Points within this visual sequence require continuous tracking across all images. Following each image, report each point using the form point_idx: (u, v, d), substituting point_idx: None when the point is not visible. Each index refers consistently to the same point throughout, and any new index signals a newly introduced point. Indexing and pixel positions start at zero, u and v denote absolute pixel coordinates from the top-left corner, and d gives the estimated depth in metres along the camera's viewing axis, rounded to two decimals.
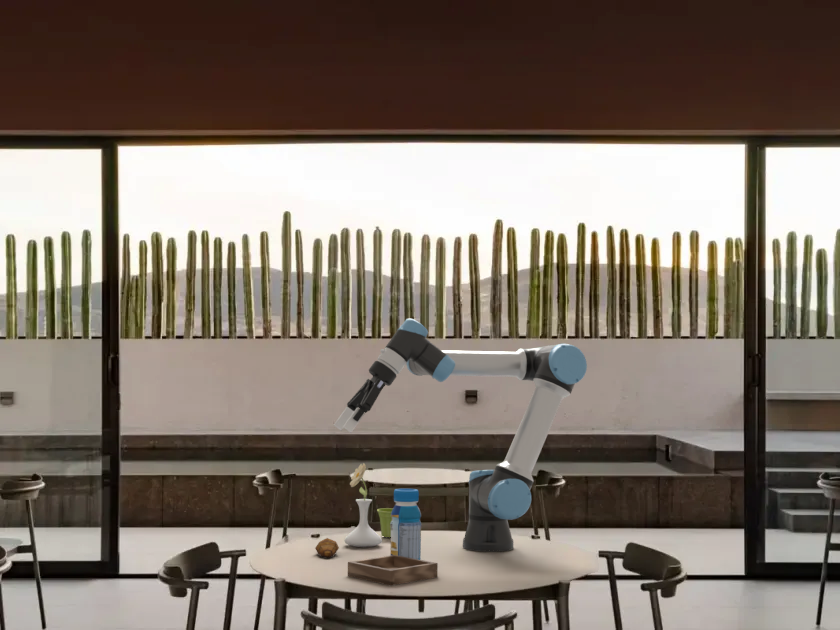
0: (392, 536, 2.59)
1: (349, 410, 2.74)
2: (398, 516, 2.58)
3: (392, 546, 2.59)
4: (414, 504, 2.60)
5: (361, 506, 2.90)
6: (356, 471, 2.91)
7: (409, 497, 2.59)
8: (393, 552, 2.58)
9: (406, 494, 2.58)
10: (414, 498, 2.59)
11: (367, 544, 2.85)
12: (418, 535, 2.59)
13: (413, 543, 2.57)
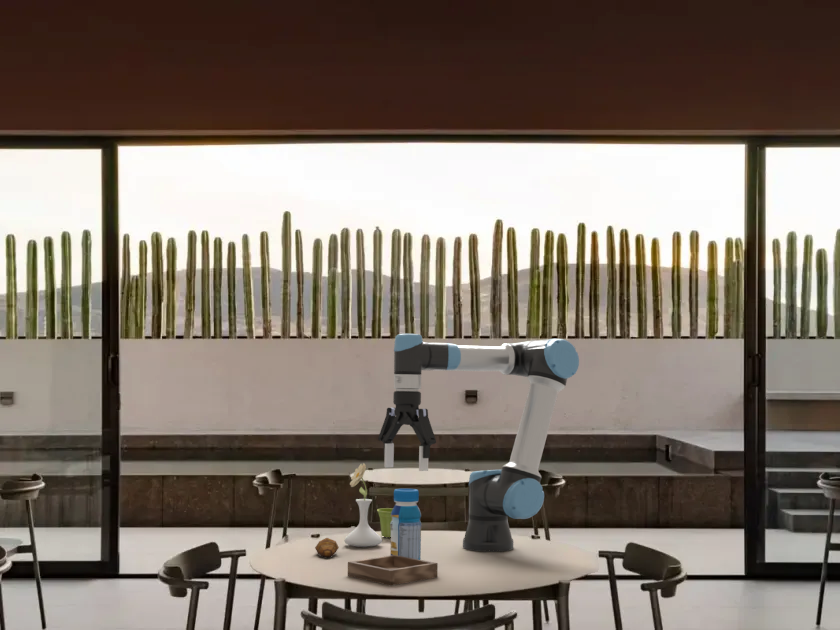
0: (392, 536, 2.59)
1: (389, 445, 2.67)
2: (398, 516, 2.58)
3: (392, 546, 2.59)
4: (414, 504, 2.60)
5: (361, 506, 2.90)
6: (356, 471, 2.91)
7: (409, 497, 2.59)
8: (393, 552, 2.58)
9: (406, 494, 2.58)
10: (414, 498, 2.59)
11: (367, 544, 2.85)
12: (418, 535, 2.59)
13: (413, 543, 2.57)
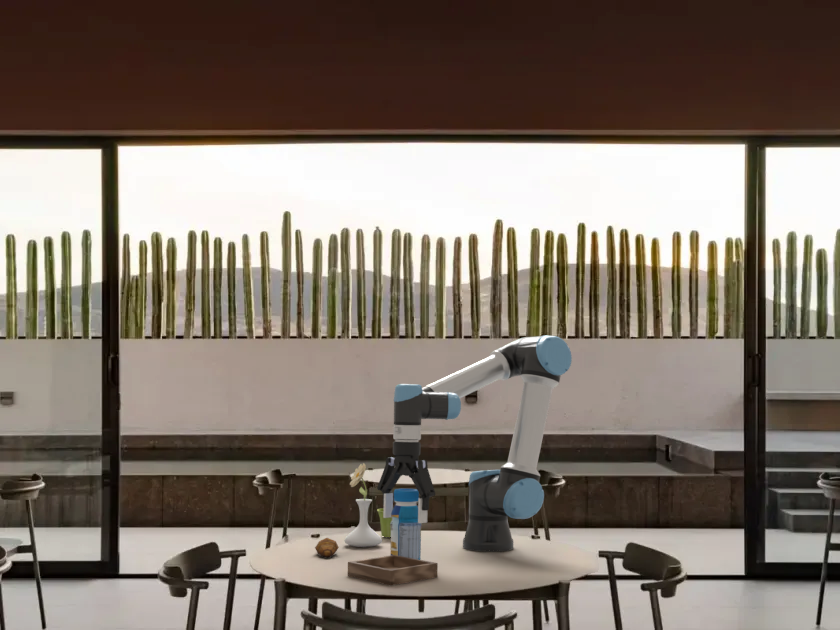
0: (392, 536, 2.59)
1: (388, 495, 2.66)
2: (398, 516, 2.58)
3: (392, 546, 2.59)
4: (414, 504, 2.60)
5: (361, 506, 2.90)
6: (356, 471, 2.91)
7: (409, 497, 2.59)
8: (393, 552, 2.58)
9: (406, 494, 2.58)
10: (414, 498, 2.59)
11: (367, 544, 2.85)
12: (418, 535, 2.59)
13: (413, 543, 2.57)
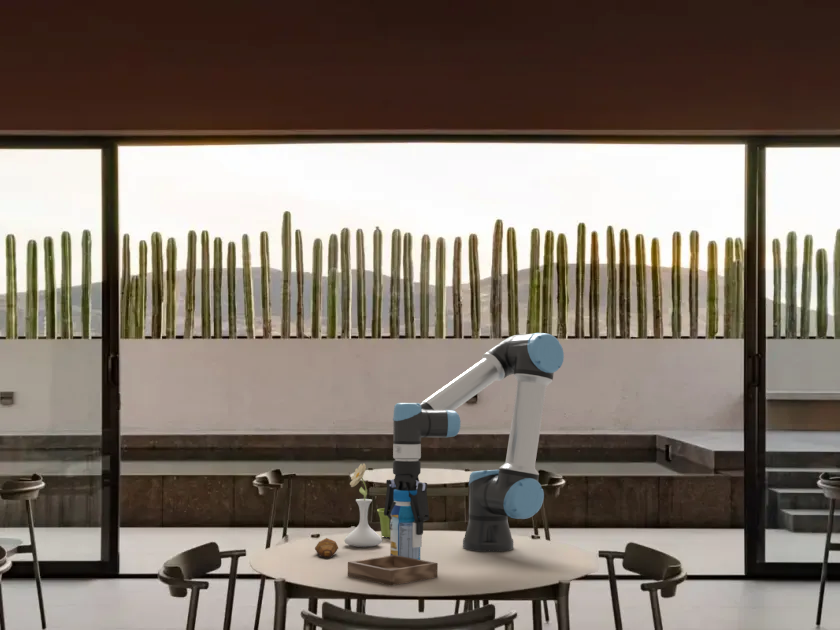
0: (392, 536, 2.59)
1: None
2: (398, 516, 2.58)
3: (392, 546, 2.59)
4: None
5: (361, 506, 2.90)
6: (356, 471, 2.91)
7: (409, 497, 2.59)
8: (393, 552, 2.58)
9: (405, 494, 2.59)
10: None
11: (367, 544, 2.85)
12: None
13: None
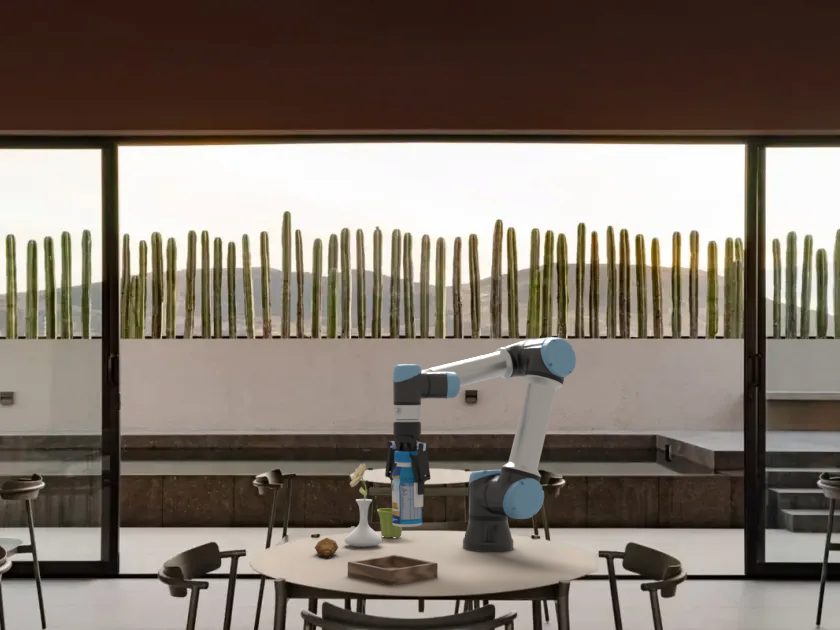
0: (393, 497, 2.60)
1: None
2: (399, 476, 2.59)
3: (393, 507, 2.60)
4: None
5: (361, 506, 2.90)
6: (356, 471, 2.91)
7: None
8: (395, 512, 2.59)
9: (406, 454, 2.59)
10: None
11: (367, 544, 2.85)
12: None
13: None
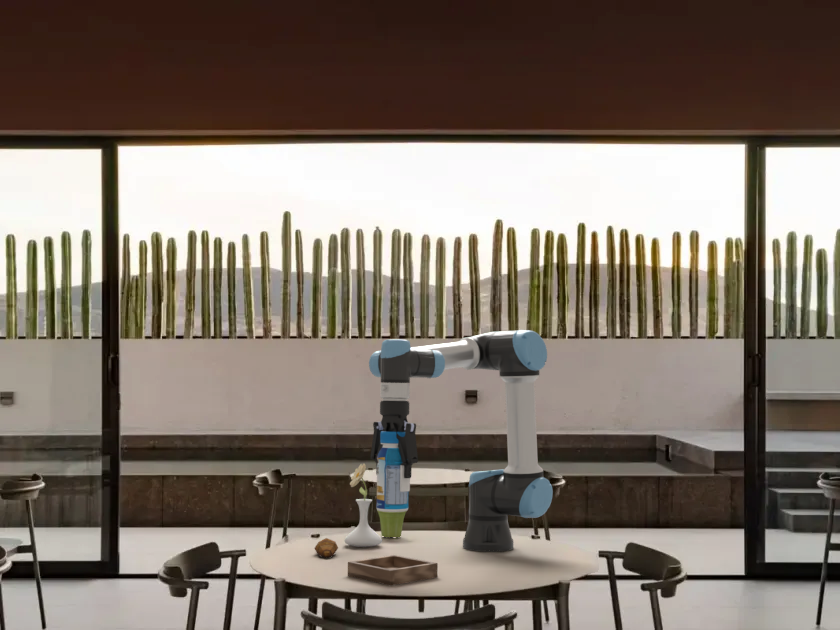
0: (378, 480, 2.44)
1: None
2: (385, 458, 2.43)
3: (378, 490, 2.44)
4: None
5: (361, 506, 2.90)
6: (356, 471, 2.91)
7: (396, 438, 2.44)
8: (379, 496, 2.43)
9: (393, 435, 2.43)
10: None
11: (367, 544, 2.85)
12: None
13: None
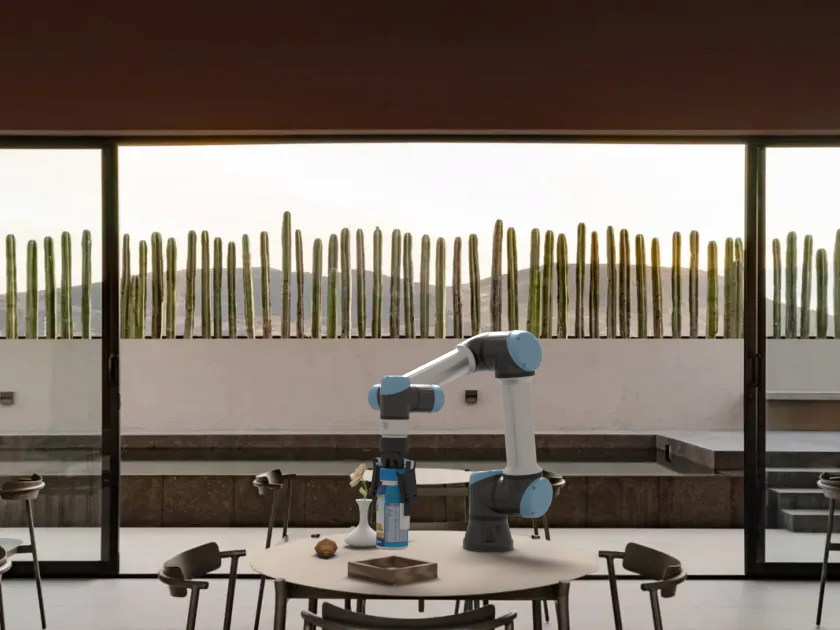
0: (378, 517, 2.43)
1: None
2: (384, 495, 2.41)
3: (378, 528, 2.43)
4: None
5: (361, 506, 2.90)
6: (356, 471, 2.91)
7: (396, 475, 2.42)
8: (379, 534, 2.42)
9: (392, 472, 2.42)
10: None
11: (367, 544, 2.85)
12: None
13: None
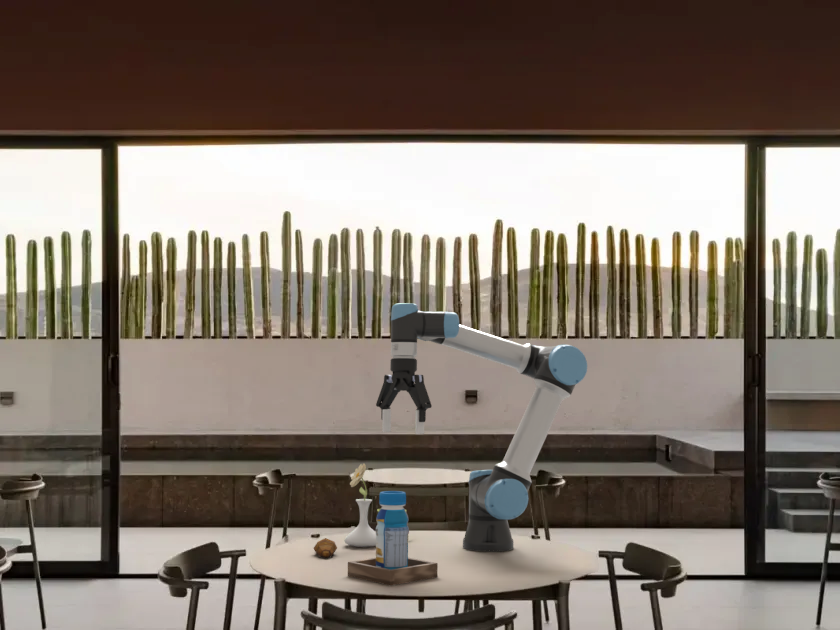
0: (377, 542, 2.43)
1: (387, 411, 2.78)
2: (384, 520, 2.41)
3: (377, 552, 2.42)
4: (401, 508, 2.43)
5: (361, 506, 2.90)
6: (356, 471, 2.90)
7: (396, 500, 2.42)
8: (378, 559, 2.42)
9: (392, 497, 2.42)
10: (401, 501, 2.43)
11: (367, 544, 2.85)
12: (405, 541, 2.42)
13: (400, 549, 2.41)
